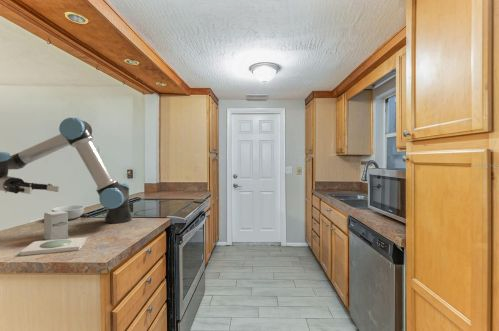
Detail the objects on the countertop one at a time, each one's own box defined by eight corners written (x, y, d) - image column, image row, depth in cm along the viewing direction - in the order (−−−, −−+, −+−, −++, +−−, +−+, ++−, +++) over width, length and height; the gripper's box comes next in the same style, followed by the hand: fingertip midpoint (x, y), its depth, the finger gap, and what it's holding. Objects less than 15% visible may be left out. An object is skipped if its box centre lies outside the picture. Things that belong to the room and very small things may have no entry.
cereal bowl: (46, 219, 164) (46, 208, 164) (74, 215, 179) (74, 204, 179) (61, 223, 156) (61, 211, 156) (89, 217, 171) (89, 206, 171)
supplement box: (50, 241, 122) (50, 214, 122) (43, 239, 126) (43, 212, 126) (68, 237, 128) (68, 211, 128) (61, 235, 132) (61, 210, 132)
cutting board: (86, 240, 125) (86, 236, 124) (79, 250, 111) (79, 246, 111) (34, 244, 117) (34, 240, 117) (19, 255, 104) (19, 251, 104)
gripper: (35, 190, 146) (66, 195, 142) (-20, 193, 122) (16, 200, 117) (36, 176, 146) (68, 181, 142) (-18, 177, 122) (18, 183, 117)
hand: (45, 190), depth 130 cm, fingers open, 13 cm apart
